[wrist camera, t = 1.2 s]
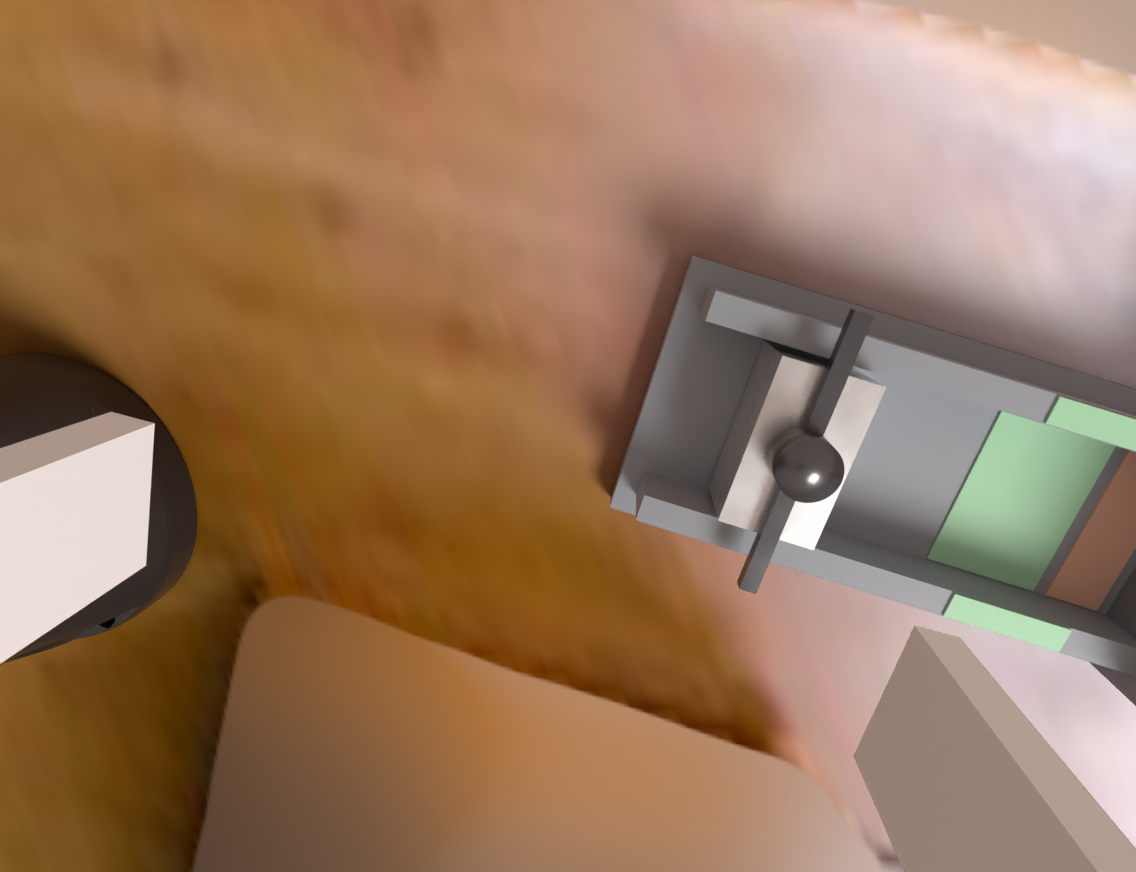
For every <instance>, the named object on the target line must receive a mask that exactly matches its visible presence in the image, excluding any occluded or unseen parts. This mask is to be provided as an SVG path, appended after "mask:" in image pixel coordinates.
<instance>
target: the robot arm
mask: <svg viewBox="0 0 1136 872" xmlns="http://www.w3.org/2000/svg"><path fill="white" fill-rule="evenodd" d="M196 529H197V510H196V501H195V495H194V490H193V486H192V482H191V479H190V476H189V473H188V470H187V467H186V465H185V463H184V460H183V458H182V456H181V454H180V452H179V450H178V448H177V446H176V445H175V443H174V441H173V440H172V438H171V436H170V435H169V433H168V432H167V430H166V429H165V428H164V426H163V425H162V424H161V422H160V421H159V420H158V419H157V417H156V416H155V415H154V414H153V413H152V412H151V411H150V409H149V408H148V407H147V406H146V405H145V404H144V403H143V402H142V401H141V400H139V399H138V398H137V397H136V396H135V395H134V394H133V393H132V392H130V391H129V390H128V389H126V388H125V387H124V386H123V385H121V384H120V383H118V382H117V381H115V380H114V379H112V378H111V377H109V376H107V375H106V374H104V373H102V372H100V371H98V370H96V369H94V368H92V367H90V366H88V365H85V364H83V363H80V362H77V361H75V360H72V359H68V358H64V357H61V356H56V355H50V354H42V353H19V354H11V355H5V356H0V665H1V664H3V663H6V662H9V661H13V660H16V659H19V658H22V657H26V656H29V655H32V654H35V653H38V652H42V651H45V650H48V649H51V648H54V647H57V646H60V645H62V644H65V643H67V642H70V641H72V640H74V639H77V638H84V637H88V636H92V635H96V634H99V633H102V632H105V631H108V630H111V629H113V628H115V627H117V626H119V625H121V624H123V623H125V622H127V621H129V620H130V619H132V618H133V617H135V616H136V615H138V614H139V613H141V612H142V611H143V610H145V609H146V608H147V607H149V606H150V605H151V604H153V603H154V602H156V601H157V600H158V599H160V598H161V597H162V596H163V595H165V594H166V593H167V592H168V591H169V590H170V589H171V588H172V587H173V586H174V585H175V584H176V582H177V581H178V580H179V578H180V577H181V575H182V574H183V572H184V570H185V569H186V566H187V564H188V562H189V560H190V557H191V554H192V551H193V547H194V543H195V538H196ZM854 758H855V760H856V763H857V765H858V767H859V769H860V772H861V774H862V776H863V779H864V781H865V783H866V785H867V788H868V790H869V792H870V795H871V797H872V799H873V801H874V804H875V806H876V808H877V811H878V813H879V815H880V818H881V820H882V822H883V824H884V827H885V829H886V831H887V834H888V836H889V838H890V840H891V843H892V845H893V847H894V850H895V852H896V854H897V856H898V859H899V861H900V863H901V866H902V868H903V870H904V872H1136V848H1135V847H1134V846H1133V845H1132V843H1131V842H1130V841H1129V840H1128V839H1127V837H1126V836H1125V835H1124V834H1123V833H1122V831H1121V830H1120V829H1119V828H1118V827H1117V825H1116V824H1115V823H1114V822H1113V821H1112V819H1111V818H1110V817H1109V816H1108V815H1107V813H1106V812H1105V811H1104V810H1103V809H1102V807H1101V806H1100V805H1099V804H1098V803H1097V801H1096V800H1095V799H1094V798H1093V797H1092V795H1091V794H1090V793H1089V792H1088V791H1087V789H1086V788H1085V787H1084V786H1083V785H1082V783H1081V782H1080V781H1079V780H1078V779H1077V777H1076V776H1075V775H1074V774H1073V773H1072V771H1071V770H1070V769H1069V768H1068V767H1067V765H1066V764H1065V763H1064V762H1063V761H1062V759H1061V758H1060V757H1059V756H1058V755H1057V753H1056V752H1055V751H1054V750H1053V749H1052V747H1051V746H1050V745H1049V744H1048V743H1047V741H1046V740H1045V739H1044V738H1043V737H1042V735H1041V734H1040V733H1039V732H1038V731H1037V729H1036V728H1035V727H1034V726H1033V725H1032V723H1031V722H1030V721H1029V720H1028V719H1027V717H1026V716H1025V715H1024V714H1023V713H1022V711H1021V710H1020V709H1019V708H1018V707H1017V705H1016V704H1015V703H1014V702H1013V701H1012V699H1011V698H1010V697H1009V696H1008V695H1007V693H1006V692H1005V691H1004V690H1003V689H1002V688H1001V686H1000V685H999V684H998V683H997V682H996V680H995V679H994V678H993V677H992V676H991V674H990V673H989V672H988V671H987V670H986V668H985V667H984V666H983V665H982V664H981V662H980V661H979V660H978V659H977V658H976V656H975V655H974V654H973V653H972V652H971V650H970V649H969V648H968V647H967V646H966V644H965V643H964V642H963V641H962V640H961V638H960V637H956V636H952V635H948V634H945V633H941V632H937V631H933V630H930V629H926V628H922V627H918V626H914V628H913V630H912V632H911V635H910V637H909V639H908V641H907V643H906V645H905V647H904V650H903V652H902V654H901V656H900V658H899V660H898V662H897V665H896V667H895V669H894V671H893V673H892V675H891V677H890V679H889V682H888V684H887V686H886V688H885V690H884V692H883V694H882V697H881V699H880V701H879V703H878V705H877V707H876V709H875V712H874V714H873V716H872V718H871V720H870V722H869V724H868V726H867V729H866V731H865V733H864V735H863V737H862V739H861V741H860V744H859V746H858V748H857V750H856V752H855V754H854Z"/></svg>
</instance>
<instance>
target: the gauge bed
mask: <svg viewBox="0 0 1136 872" xmlns="http://www.w3.org/2000/svg"><path fill="white" fill-rule="evenodd" d="M850 309H854V310H857V311H860V312H864V313H867V314H870V315H873V316H874V318H873V321H872V323H871V325H870V328H869V330H868V332H867V335H866V337H865V339H864V342H863V344H862V346H861V349H860V351H859V353H858V356H857V358H856V360H855V363H854V365H853V367H852V368H855V369H856V370H858V371H860V372H861V373H863V374H865V375H866V376H868V377H870V378H872V379H873V380H875V381H877V382H878V383H880V384H882V385H883V386H885V387H886V389H885V392H884V394H883V396H882V398H881V401H880V403H879V405H878V407H877V410H876V412H875V414H874V416H873V419H872V421H871V423H870V425H869V427H868V430H867V432H866V434H865V436H864V439H863V441H862V443H861V445H860V448H859V450H858V452H857V454H856V457H855V459H854V461H853V463H852V466H851V468H850V470H849V472H848V474H847V477H846V479H845V481H844V483H843V486H842V488H841V490H840V492H839V495H838V497H837V499H836V501H835V504H834V506H833V508H832V510H831V513H830V515H829V517H828V519H827V521H826V524H825V526H824V528H823V530H822V533H821V535H820V537H819V539H818V542H817V544H816V546H815V548H814V550H811V549H808V548H804V547H801V546H798V545H795V544H791V543H788V542H785V541H782V540H779V541H778V543H777V546H776V548H775V550H774V553H773V555H772V557H771V560H770V562H771V563H774V564H778V565H781V566H784V567H787V568H790V569H794V570H797V571H800V572H803V573H806V574H810V575H813V576H816V577H819V578H822V579H826V580H829V581H832V582H835V583H838V584H842V585H845V586H848V587H851V588H854V589H858V590H861V591H864V592H867V593H870V594H874V595H877V596H880V597H883V598H886V599H890V600H893V601H896V602H899V603H902V604H906V605H909V606H912V607H915V608H918V609H922V610H925V611H928V612H931V613H934V614H938V615H941V616H944V617H947V618H950V619H954V620H957V621H960V622H963V623H966V624H970V625H973V626H976V627H979V628H982V629H986V630H989V631H992V632H995V633H998V634H1002V635H1005V636H1008V637H1011V638H1015V639H1018V640H1021V641H1024V642H1027V643H1031V644H1034V645H1037V646H1040V647H1043V648H1047V649H1050V650H1053V651H1056V652H1059V653H1063V654H1066V655H1069V656H1072V657H1075V658H1079V659H1082V660H1085V661H1088V662H1090V663H1091V664H1092V665H1093V666H1094V667H1095V668H1096V669H1097V670H1098V671H1099V672H1100V673H1101V674H1102V675H1103V676H1105V677H1106V678H1107V679H1108V680H1109V681H1110V682H1111V683H1112V684H1113V685H1114V686H1115V687H1116V688H1117V689H1118V690H1119V691H1121V692H1122V693H1123V694H1124V695H1125V696H1126V697H1127V698H1128V699H1129V700H1130V701H1131V702H1132V703H1133V704H1134V705H1135V706H1136V389H1133V388H1130V387H1126V386H1123V385H1120V384H1116V383H1113V382H1110V381H1107V380H1103V379H1100V378H1097V377H1093V376H1090V375H1087V374H1083V373H1080V372H1077V371H1073V370H1070V369H1067V368H1064V367H1060V366H1057V365H1054V364H1050V363H1047V362H1044V361H1040V360H1037V359H1034V358H1030V357H1027V356H1024V355H1021V354H1017V353H1014V352H1011V351H1007V350H1004V349H1001V348H997V347H994V346H991V345H987V344H984V343H981V342H978V341H974V340H971V339H968V338H964V337H961V336H958V335H954V334H951V333H948V332H944V331H941V330H938V329H935V328H931V327H928V326H925V325H921V324H918V323H915V322H911V321H908V320H905V319H901V318H898V317H895V316H892V315H888V314H885V313H882V312H878V311H875V310H872V309H868V308H865V307H862V306H859V305H855V304H852V303H849V302H845V301H842V300H839V299H835V298H832V297H829V296H825V295H822V294H819V293H816V292H812V291H809V290H806V289H802V288H799V287H796V286H792V285H789V284H786V283H782V282H779V281H776V280H773V279H769V278H766V277H763V276H759V275H756V274H753V273H749V272H746V271H743V270H739V269H736V268H733V267H730V266H726V265H723V264H720V263H716V262H713V261H710V260H706V259H703V258H700V257H696V256H693V255H692V256H691V259H690V262H689V265H688V268H687V271H686V274H685V277H684V280H683V283H682V286H681V289H680V292H679V295H678V298H677V301H676V304H675V307H674V310H673V313H672V316H671V319H670V322H669V325H668V328H667V331H666V334H665V337H664V340H663V343H662V346H661V349H660V352H659V355H658V358H657V361H656V364H655V367H654V370H653V373H652V376H651V379H650V382H649V385H648V388H647V391H646V394H645V397H644V400H643V403H642V406H641V409H640V412H639V415H638V418H637V421H636V424H635V427H634V430H633V433H632V436H631V439H630V442H629V445H628V448H627V451H626V454H625V457H624V460H623V463H622V466H621V469H620V472H619V475H618V478H617V481H616V484H615V487H614V490H613V493H612V496H611V501H610V507H611V508H614V509H617V510H620V511H623V512H627V513H630V514H633V515H636V520H637V521H640V522H643V523H646V524H650V525H653V526H656V527H659V528H662V529H666V530H669V531H672V532H675V533H678V534H682V535H685V536H688V537H691V538H694V539H698V540H701V541H704V542H707V543H710V544H714V545H717V546H720V547H723V548H726V549H730V550H733V551H736V552H739V553H742V554H746V555H748V554H749V552H750V549H751V547H752V545H753V542H754V540H755V537H756V535H757V533H756V532H753V531H750V530H746V529H743V528H740V527H737V526H734V525H730V524H727V523H724V522H721V521H718V519H717V515H716V511H715V508H714V504H713V500H712V497H711V493H710V489H709V484H710V481H711V479H712V476H713V473H714V471H715V468H716V465H717V463H718V460H719V458H720V455H721V452H722V450H723V447H724V444H725V442H726V439H727V436H728V434H729V431H730V429H731V426H732V423H733V421H734V418H735V415H736V413H737V410H738V408H739V405H740V402H741V400H742V397H743V394H744V392H745V389H746V386H747V384H748V381H749V379H750V376H751V373H752V371H753V368H754V365H755V363H756V360H757V358H758V355H759V352H760V350H761V347H762V344H763V342H764V341H767V342H770V343H773V344H777V345H780V346H783V347H786V348H790V349H793V350H796V351H800V352H803V353H806V354H809V355H813V356H816V357H819V358H823V359H826V360H829V359H830V356H831V354H832V351H833V349H834V347H835V344H836V342H837V339H838V337H839V335H840V332H841V330H842V327H843V325H844V322H845V320H846V318H847V315H848V313H849V310H850Z"/></svg>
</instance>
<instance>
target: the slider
mask: <svg viewBox="0 0 1136 872" xmlns="http://www.w3.org/2000/svg"><path fill="white" fill-rule="evenodd" d="M873 318H874V316H873V315H870V314H867V313H864V312H860V311H857V310H854V309H850V310H849V313H848V315H847V318H846V320H845V322H844V325H843V327H842V330H841V332H840V335H839V337H838V339H837V342H836V344H835V347H834V349H833V351H832V354H831V356H830V359H829V360H826V359H823V358H819V357H816V356H813V355H809V354H806V353H803V352H800V351H796V350H793V349H790V348H786V347H783V346H780V345H777V344H773V343H770V342H767V341H764V342H763V344H762V347H761V350H760V352H759V355H758V358H757V360H756V363H755V365H754V368H753V371H752V373H751V376H750V379H749V381H748V384H747V386H746V389H745V392H744V394H743V397H742V400H741V402H740V405H739V408H738V410H737V413H736V415H735V418H734V421H733V423H732V426H731V429H730V431H729V434H728V436H727V439H726V442H725V444H724V447H723V450H722V452H721V455H720V458H719V460H718V463H717V465H716V468H715V471H714V473H713V476H712V479H711V481H710V484H709V489H710V493H711V497H712V500H713V504H714V508H715V511H716V515H717V519H718V521H721V522H724V523H727V524H730V525H734V526H737V527H740V528H743V529H746V530H750V531H753V532H756V533H757V535H756V537H755V540H754V542H753V545H752V547H751V549H750V552H749V554H748V557H747V559H746V561H745V564H744V566H743V569H742V571H741V574H740V576H739V578H738V581H737V582H738V586H739V589H742V590H745V591H748V592H752V593H755V594H756V592H757V590H758V588H759V585H760V583H761V581H762V578H763V576H764V574H765V571H766V569H767V567H768V564H769V562H770V560H771V557H772V555H773V553H774V550H775V548H776V546H777V543H778V541H779V540H782V541H785V542H788V543H791V544H795V545H798V546H801V547H804V548H808V549H811V550H814V548H815V546H816V544H817V542H818V539H819V537H820V535H821V533H822V530H823V528H824V526H825V524H826V521H827V519H828V517H829V515H830V513H831V510H832V508H833V506H834V504H835V501H836V499H837V497H838V495H839V492H840V490H841V488H842V486H843V483H844V481H845V479H846V477H847V474H848V472H849V470H850V468H851V466H852V463H853V461H854V459H855V457H856V454H857V452H858V450H859V448H860V445H861V443H862V441H863V439H864V436H865V434H866V432H867V430H868V427H869V425H870V423H871V421H872V419H873V416H874V414H875V412H876V410H877V407H878V405H879V403H880V401H881V398H882V396H883V394H884V392H885V389H886V387H885V386H883V385H882V384H880V383H878V382H877V381H875V380H873V379H872V378H870V377H868V376H866V375H865V374H863V373H861V372H860V371H858V370H856V369H855V368H852V367H853V365H854V363H855V360H856V358H857V356H858V353H859V351H860V349H861V346H862V344H863V342H864V339H865V337H866V335H867V332H868V330H869V328H870V325H871V323H872V321H873Z"/></svg>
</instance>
